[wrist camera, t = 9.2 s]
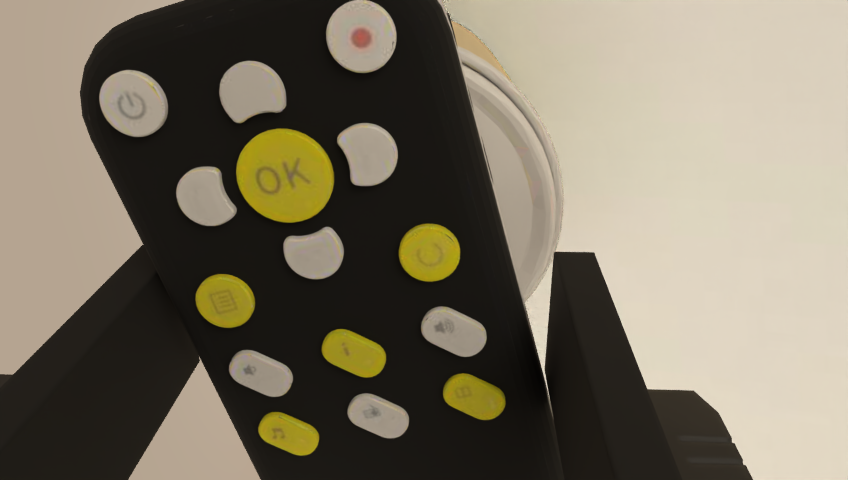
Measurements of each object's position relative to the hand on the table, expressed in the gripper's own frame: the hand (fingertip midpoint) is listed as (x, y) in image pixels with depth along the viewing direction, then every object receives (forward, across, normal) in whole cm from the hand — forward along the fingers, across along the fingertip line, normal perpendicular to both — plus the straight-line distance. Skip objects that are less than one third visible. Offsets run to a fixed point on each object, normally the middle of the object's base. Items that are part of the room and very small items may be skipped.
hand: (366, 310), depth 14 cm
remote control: (+1, 0, 0) cm, 1 cm away
